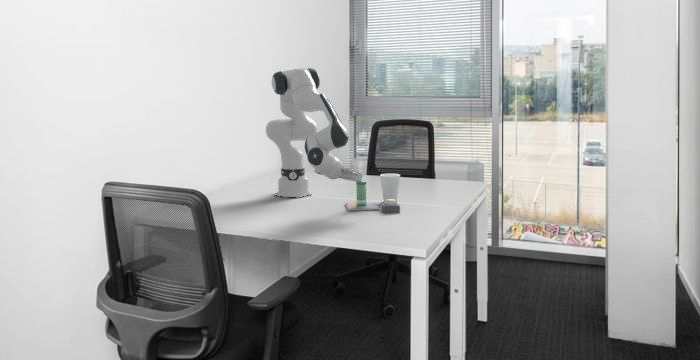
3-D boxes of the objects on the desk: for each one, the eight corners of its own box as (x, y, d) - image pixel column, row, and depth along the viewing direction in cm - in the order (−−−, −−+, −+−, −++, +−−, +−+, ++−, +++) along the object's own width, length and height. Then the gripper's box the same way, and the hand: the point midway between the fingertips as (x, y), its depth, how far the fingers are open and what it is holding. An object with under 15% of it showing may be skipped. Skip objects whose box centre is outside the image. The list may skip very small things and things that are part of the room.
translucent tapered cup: (382, 204, 254) (383, 176, 252) (378, 200, 263) (378, 173, 261) (402, 203, 256) (402, 176, 253) (396, 199, 264) (397, 173, 262)
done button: (384, 206, 240) (384, 199, 240) (394, 206, 241) (394, 198, 240) (386, 208, 236) (386, 201, 235) (396, 208, 236) (396, 200, 236)
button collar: (381, 209, 242) (381, 203, 241) (396, 209, 242) (396, 202, 242) (383, 213, 235) (383, 206, 234) (399, 212, 235) (399, 205, 235)
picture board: (345, 204, 253) (345, 203, 253) (374, 203, 255) (374, 202, 255) (348, 211, 239) (348, 209, 239) (379, 210, 240) (379, 208, 240)
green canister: (355, 204, 250) (355, 180, 248) (365, 204, 250) (365, 180, 248) (357, 206, 245) (356, 182, 243) (367, 206, 246) (366, 181, 244)
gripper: (356, 165, 222) (369, 175, 234) (315, 157, 232) (330, 167, 244) (352, 179, 221) (365, 189, 233) (311, 171, 231) (326, 180, 243)
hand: (347, 178), depth 238 cm, fingers closed
